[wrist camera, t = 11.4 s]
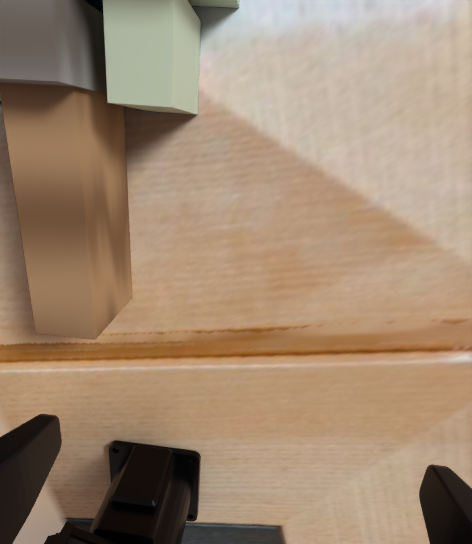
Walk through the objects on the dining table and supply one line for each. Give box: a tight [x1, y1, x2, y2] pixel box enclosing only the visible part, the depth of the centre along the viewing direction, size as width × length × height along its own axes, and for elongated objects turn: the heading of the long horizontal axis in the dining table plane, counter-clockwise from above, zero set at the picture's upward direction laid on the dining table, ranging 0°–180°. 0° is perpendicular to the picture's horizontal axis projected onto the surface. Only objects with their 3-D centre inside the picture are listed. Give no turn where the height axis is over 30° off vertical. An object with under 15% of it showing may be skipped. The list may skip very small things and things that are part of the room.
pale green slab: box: [0, 0, 240, 115], centre depth 15 cm, size 6×14×7 cm, turn 86°
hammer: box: [0, 0, 132, 340], centre depth 17 cm, size 14×4×6 cm, turn 177°
